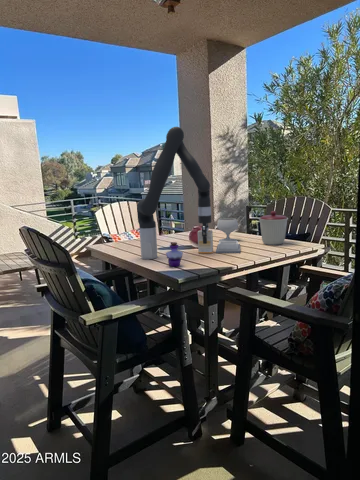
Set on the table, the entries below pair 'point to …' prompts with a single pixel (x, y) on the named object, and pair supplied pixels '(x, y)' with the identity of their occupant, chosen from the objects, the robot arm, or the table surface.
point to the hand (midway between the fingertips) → (205, 242)
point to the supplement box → (205, 247)
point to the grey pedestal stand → (228, 247)
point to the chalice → (227, 227)
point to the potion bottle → (174, 255)
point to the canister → (273, 228)
